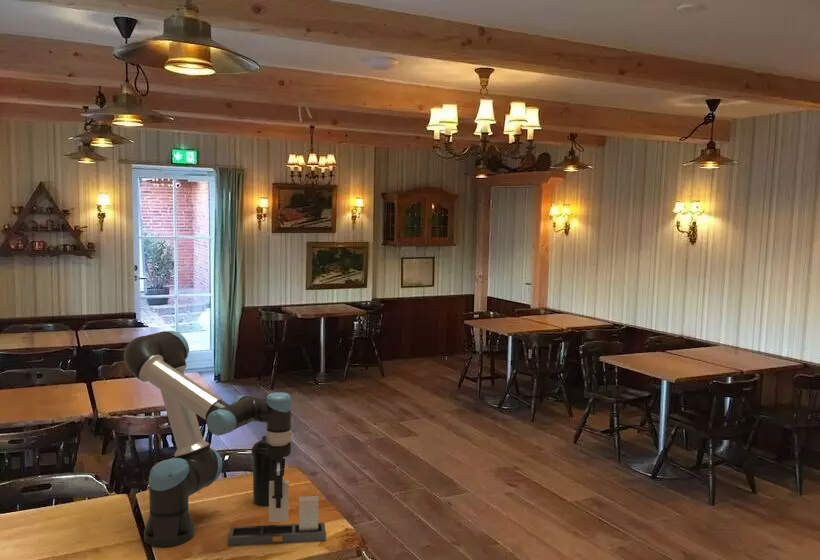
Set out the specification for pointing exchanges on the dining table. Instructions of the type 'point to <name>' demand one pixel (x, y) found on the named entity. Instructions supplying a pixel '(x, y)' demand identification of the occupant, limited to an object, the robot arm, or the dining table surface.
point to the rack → (283, 528)
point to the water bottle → (261, 472)
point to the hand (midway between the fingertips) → (278, 513)
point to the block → (285, 501)
